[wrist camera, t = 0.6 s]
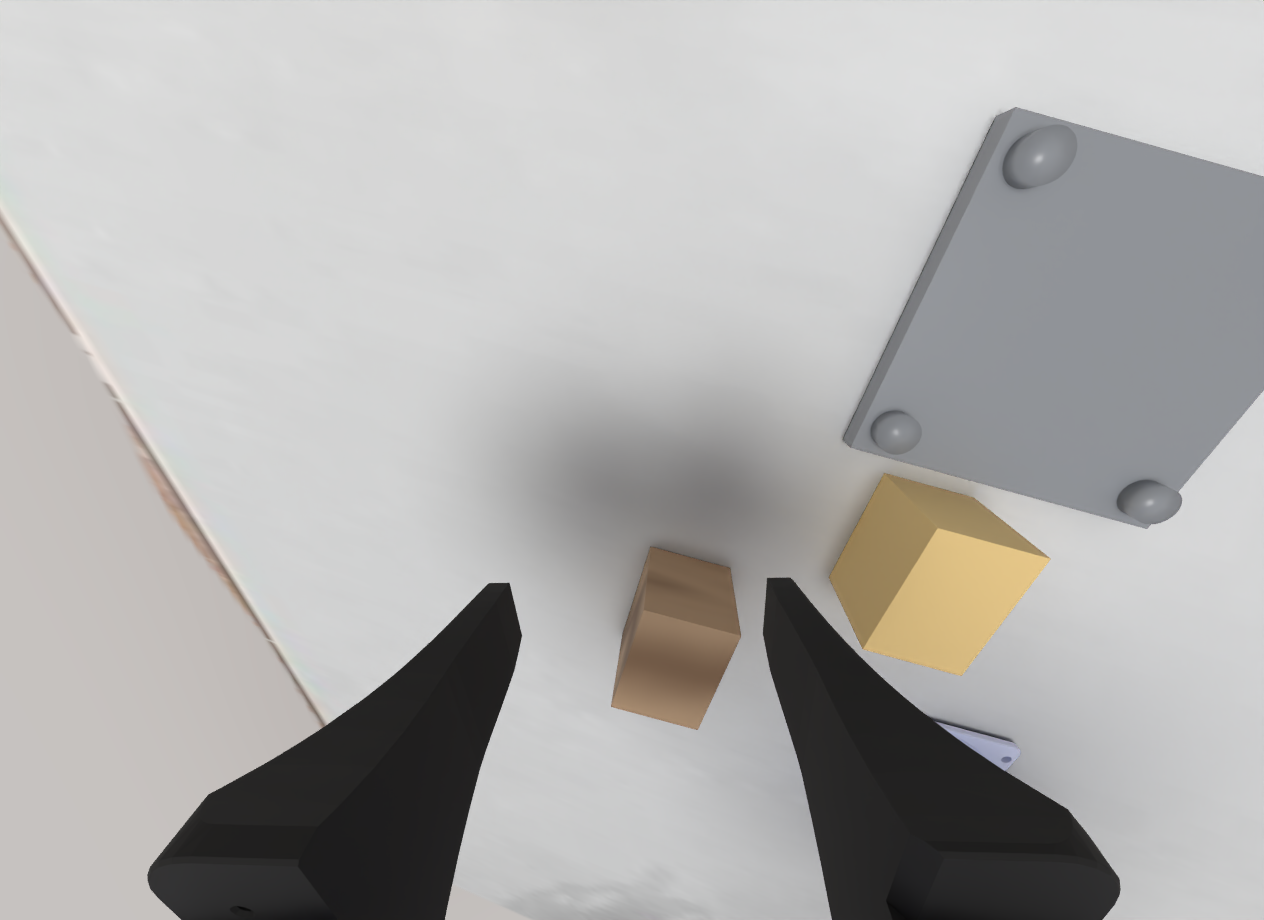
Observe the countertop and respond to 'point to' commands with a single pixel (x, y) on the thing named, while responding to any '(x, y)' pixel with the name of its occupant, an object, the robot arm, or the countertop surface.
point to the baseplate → (1078, 323)
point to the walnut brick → (676, 639)
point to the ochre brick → (931, 574)
